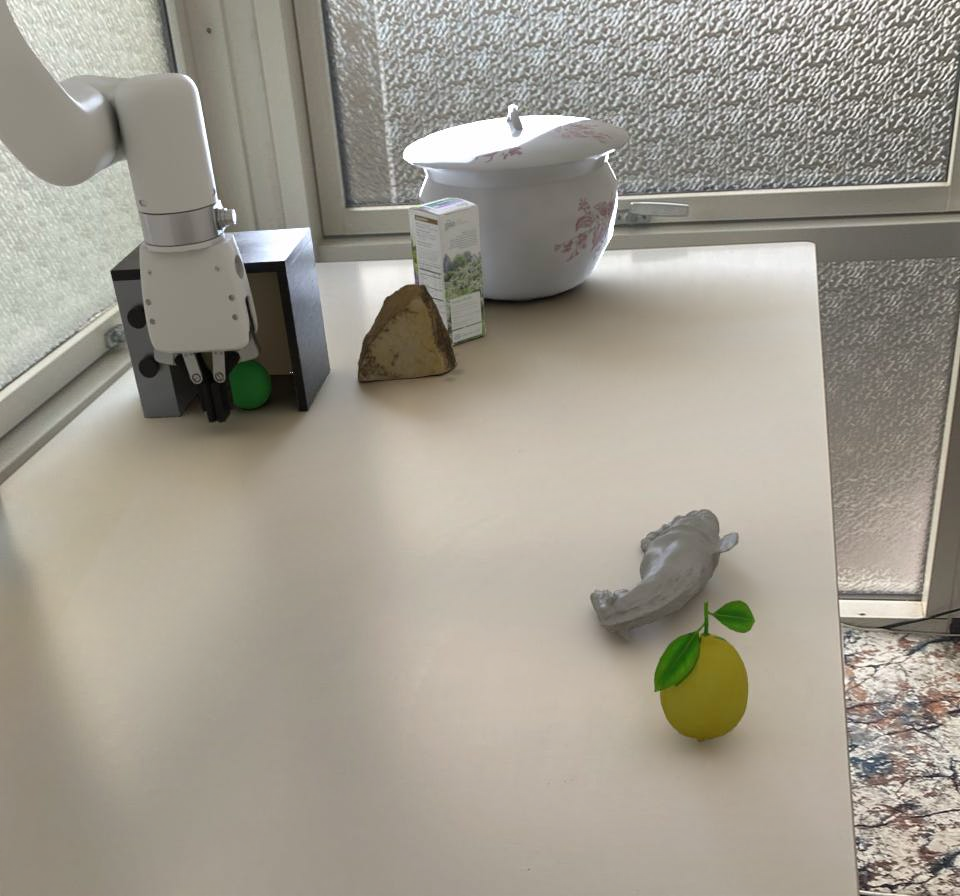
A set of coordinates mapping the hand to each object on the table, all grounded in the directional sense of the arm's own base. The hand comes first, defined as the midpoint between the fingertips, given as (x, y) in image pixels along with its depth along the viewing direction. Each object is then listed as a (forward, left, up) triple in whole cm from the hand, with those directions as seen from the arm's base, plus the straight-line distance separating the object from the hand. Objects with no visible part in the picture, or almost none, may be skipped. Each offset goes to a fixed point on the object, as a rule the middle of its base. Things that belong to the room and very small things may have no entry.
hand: (220, 417), depth 137 cm
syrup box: (+21, +28, -2) cm, 35 cm away
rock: (+17, +16, -2) cm, 23 cm away
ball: (+2, +7, +1) cm, 7 cm away
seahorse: (+45, -38, -2) cm, 58 cm away
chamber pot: (+28, +48, -2) cm, 55 cm away
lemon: (+47, -58, -2) cm, 75 cm away
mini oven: (-1, +12, -2) cm, 12 cm away
